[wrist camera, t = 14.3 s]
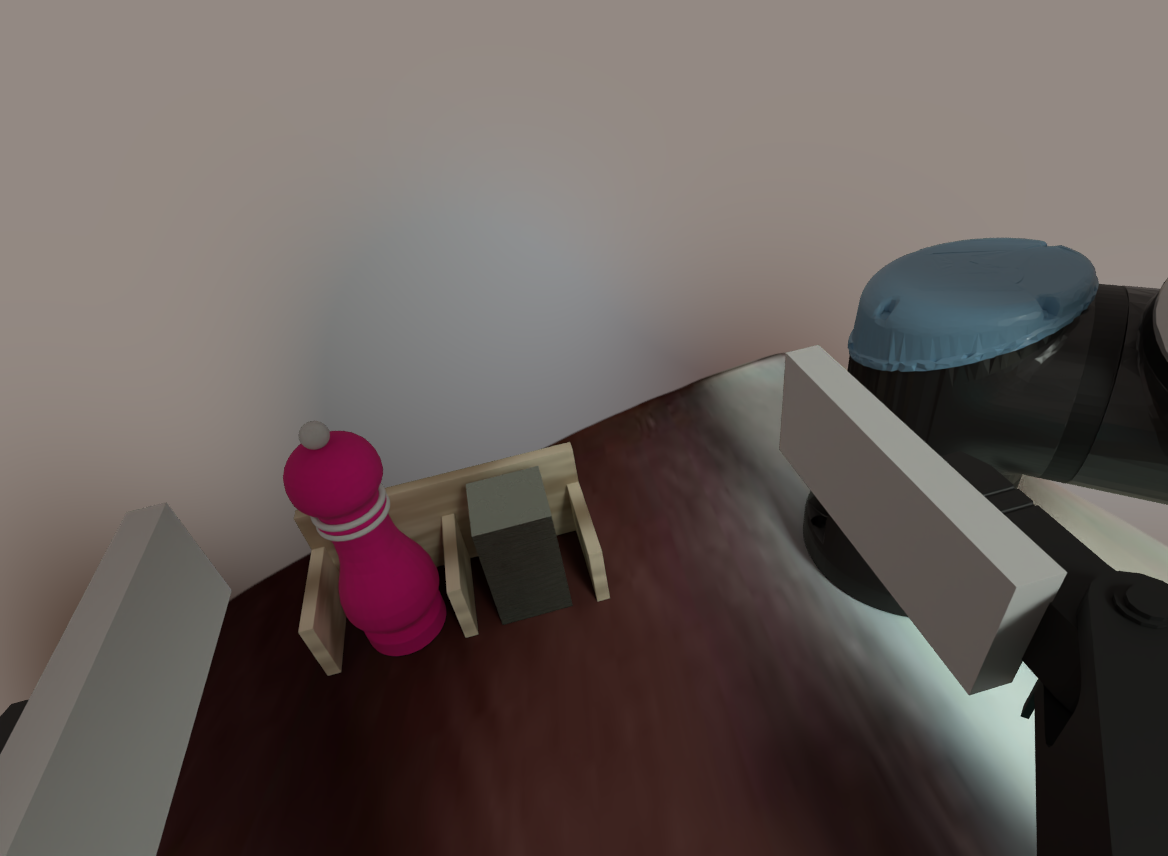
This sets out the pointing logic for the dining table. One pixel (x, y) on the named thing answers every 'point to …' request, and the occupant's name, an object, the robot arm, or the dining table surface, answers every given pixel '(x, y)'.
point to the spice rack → (444, 542)
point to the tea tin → (517, 544)
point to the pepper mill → (365, 540)
